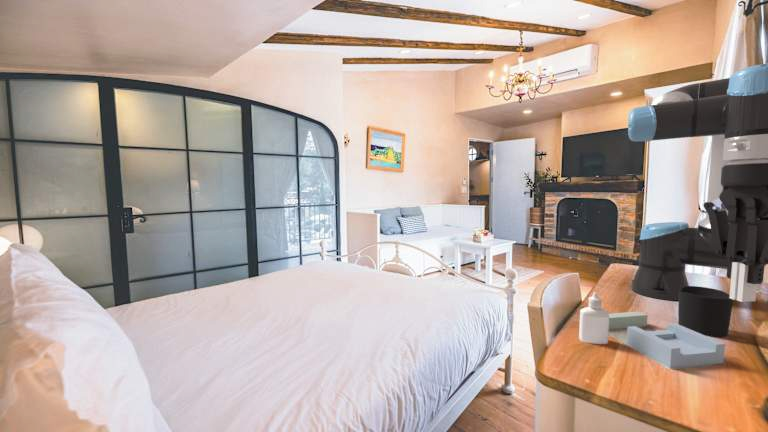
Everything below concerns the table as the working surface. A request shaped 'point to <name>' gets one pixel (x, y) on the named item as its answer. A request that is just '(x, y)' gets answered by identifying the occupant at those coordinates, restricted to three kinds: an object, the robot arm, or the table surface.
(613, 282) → the table surface
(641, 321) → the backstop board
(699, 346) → the cradle block
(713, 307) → the pen holder
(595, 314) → the eye dropper bottle
